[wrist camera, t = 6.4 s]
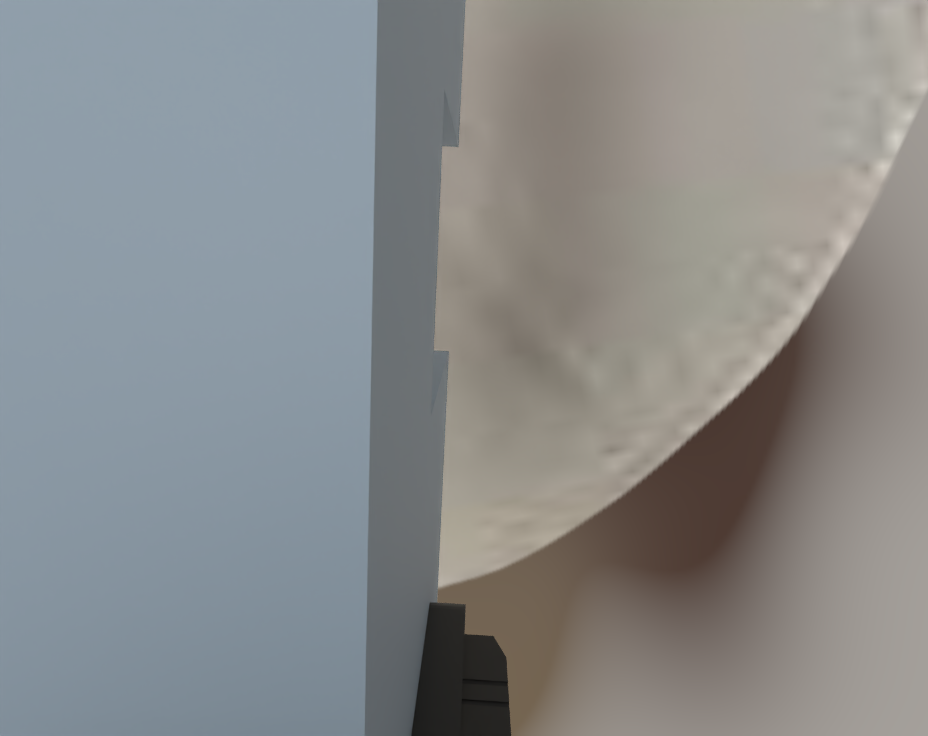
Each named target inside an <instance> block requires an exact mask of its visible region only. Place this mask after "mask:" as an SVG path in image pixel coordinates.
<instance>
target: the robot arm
mask: <svg viewBox="0 0 928 736" xmlns="http://www.w3.org/2000/svg"><path fill="white" fill-rule="evenodd" d="M464 630H465V605H464V604H451V603H450V604H449V603H435V602H430V604H429V611H428V618H427V626H426V633H425V640H424V647H423V654H422V662H421V669H420V676H419V683H418V690H417V698H416V705H415V712H414V719H413V726H412V733H411V736H511V727H510V711H509V694H508V678H507V661H506V656H505V655H504V653H503V651H502V650H501V648H500V646H499V645H498V643H497V642H496V640H495V638H494V637H493V636H483V635H467V634H464Z"/></svg>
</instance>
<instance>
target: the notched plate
mask: <svg viewBox="0 0 928 736" xmlns="http://www.w3.org/2000/svg"><path fill="white" fill-rule="evenodd" d="M464 19H465V0H0V736H411V733H412V726H413V719H414V712H415V705H416V698H417V690H418V683H419V676H420V669H421V662H422V654H423V647H424V640H425V633H426V626H427V618H428V611H429V604H430V602H435V603H437V592H438V570H439V549H440V528H441V507H442V486H443V464H444V443H445V422H446V401H447V380H448V358H449V351H434V329H435V305H436V281H437V256H438V232H439V208H440V184H441V160H442V146H451V147H458V146H459V125H460V104H461V83H462V61H463V40H464Z"/></svg>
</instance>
